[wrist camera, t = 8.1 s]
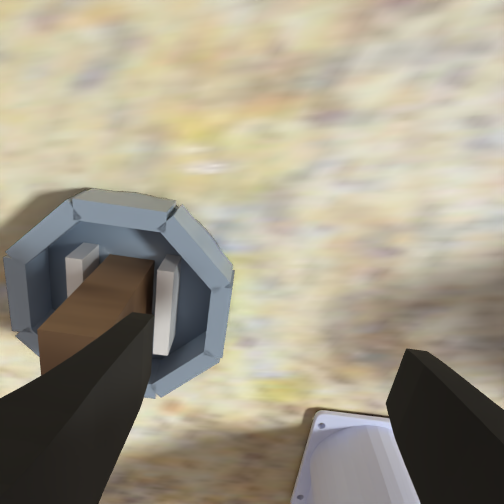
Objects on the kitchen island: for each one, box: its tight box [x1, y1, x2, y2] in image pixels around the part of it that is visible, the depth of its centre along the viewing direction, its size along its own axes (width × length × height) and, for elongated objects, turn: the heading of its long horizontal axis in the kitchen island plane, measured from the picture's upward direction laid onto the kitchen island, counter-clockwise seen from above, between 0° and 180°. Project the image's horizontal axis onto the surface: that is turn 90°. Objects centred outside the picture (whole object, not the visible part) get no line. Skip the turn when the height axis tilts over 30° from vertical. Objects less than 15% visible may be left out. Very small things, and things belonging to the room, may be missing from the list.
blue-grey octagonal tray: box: [3, 188, 235, 399], centre depth 20 cm, size 11×11×2 cm
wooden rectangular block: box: [37, 254, 155, 375], centre depth 17 cm, size 4×2×7 cm, turn 172°
